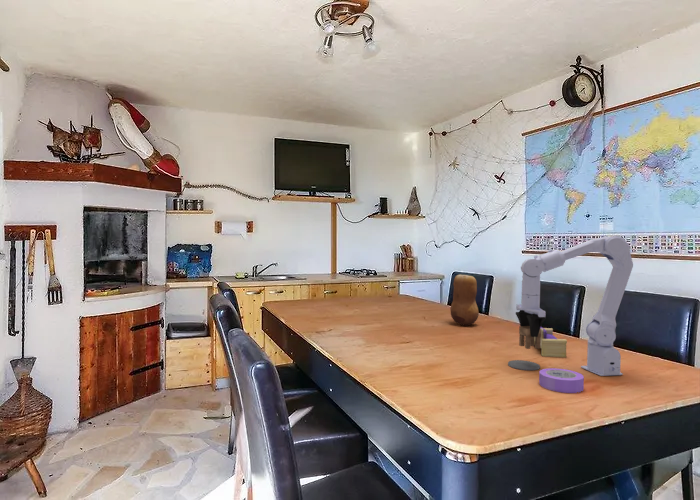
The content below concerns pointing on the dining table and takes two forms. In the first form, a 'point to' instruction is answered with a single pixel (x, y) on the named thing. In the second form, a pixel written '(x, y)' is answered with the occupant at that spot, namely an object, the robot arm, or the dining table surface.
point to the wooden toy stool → (528, 338)
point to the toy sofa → (551, 344)
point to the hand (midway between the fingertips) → (529, 334)
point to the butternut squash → (464, 300)
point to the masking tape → (561, 380)
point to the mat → (523, 365)
